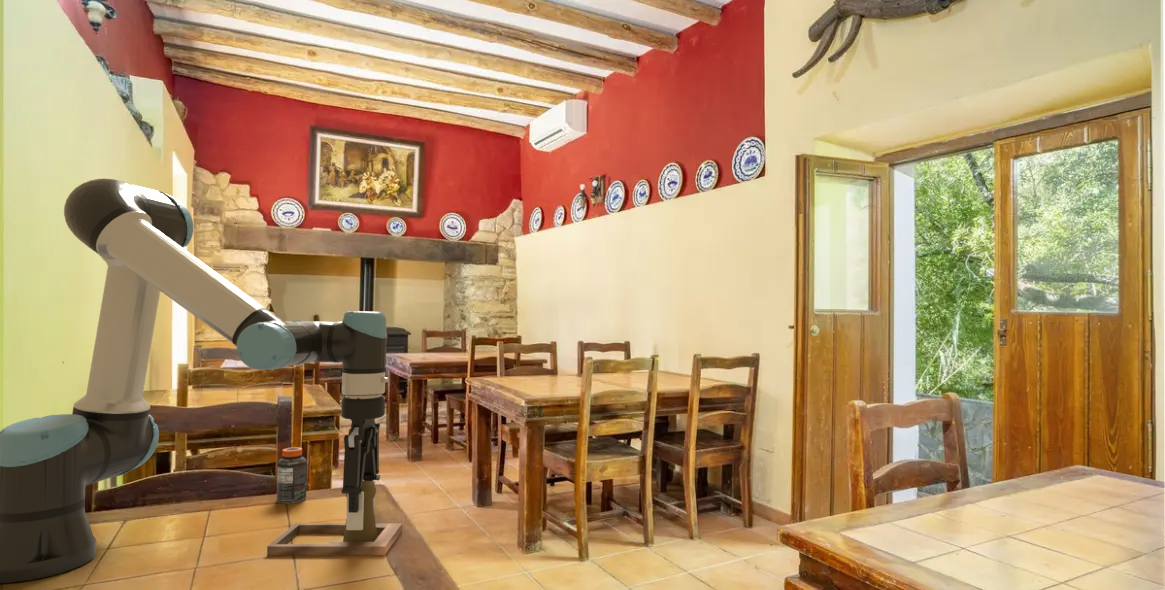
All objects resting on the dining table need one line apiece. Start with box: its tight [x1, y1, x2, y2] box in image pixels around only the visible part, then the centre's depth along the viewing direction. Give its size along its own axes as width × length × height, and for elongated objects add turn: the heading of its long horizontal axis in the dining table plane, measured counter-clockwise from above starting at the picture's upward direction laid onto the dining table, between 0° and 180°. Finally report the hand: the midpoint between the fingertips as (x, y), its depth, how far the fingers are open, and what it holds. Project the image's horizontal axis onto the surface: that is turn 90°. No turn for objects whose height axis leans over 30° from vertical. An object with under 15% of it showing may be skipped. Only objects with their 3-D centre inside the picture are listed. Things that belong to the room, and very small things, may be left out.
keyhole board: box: [266, 522, 403, 556], centre depth 116 cm, size 20×12×2 cm, turn 92°
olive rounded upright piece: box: [342, 480, 378, 542], centre depth 116 cm, size 6×6×11 cm
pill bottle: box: [276, 446, 308, 504], centre depth 142 cm, size 6×6×11 cm
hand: (360, 522), depth 117 cm, fingers open, 6 cm apart
